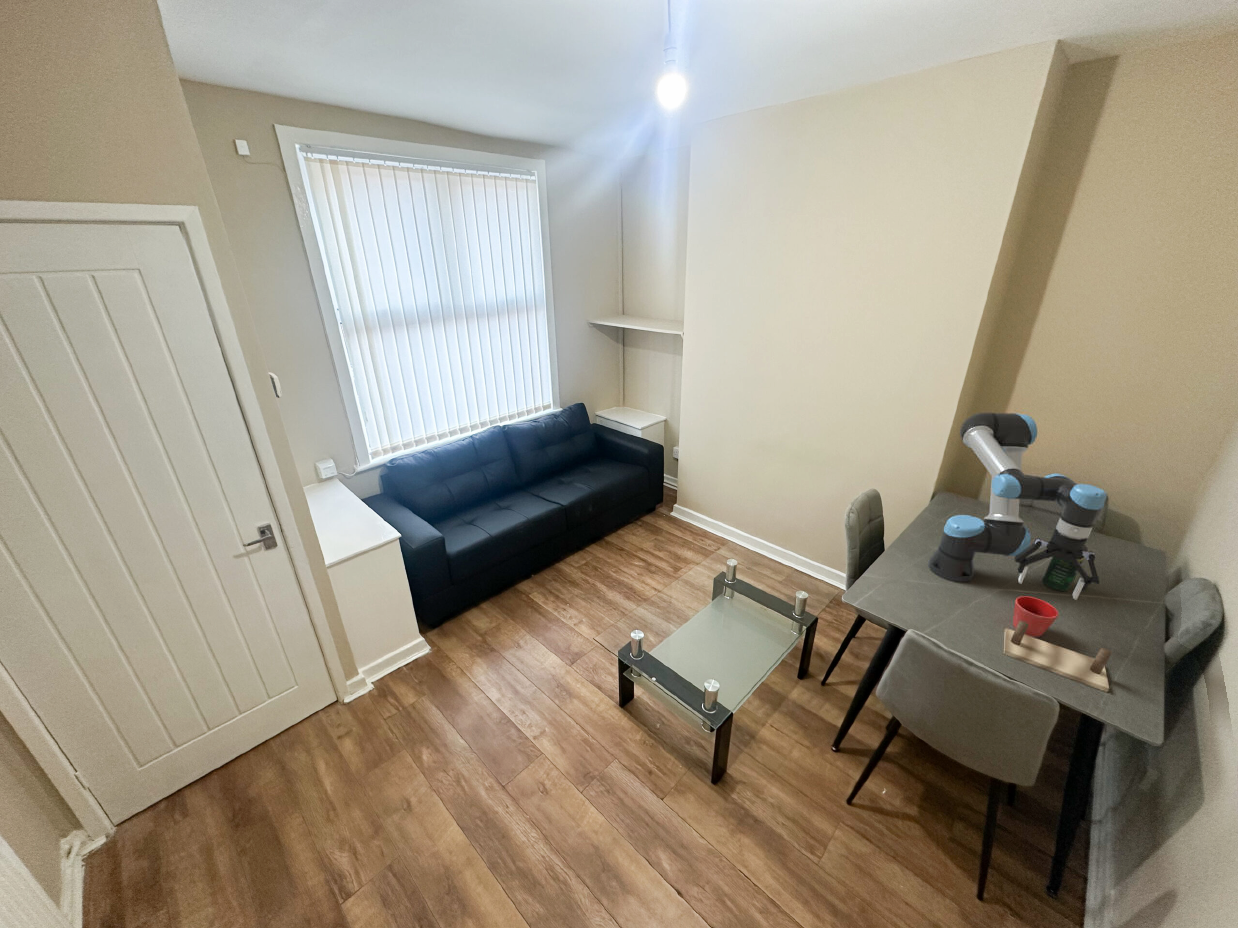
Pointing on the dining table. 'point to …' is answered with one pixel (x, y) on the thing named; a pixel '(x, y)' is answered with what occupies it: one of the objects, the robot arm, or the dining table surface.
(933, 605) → the dining table surface
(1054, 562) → the coffee jar
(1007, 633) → the rack
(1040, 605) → the flower pot
